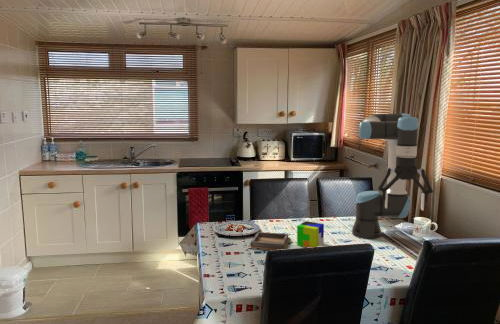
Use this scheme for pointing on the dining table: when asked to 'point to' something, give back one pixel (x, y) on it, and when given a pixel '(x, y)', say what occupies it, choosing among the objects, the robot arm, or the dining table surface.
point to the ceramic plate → (239, 229)
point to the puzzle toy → (310, 234)
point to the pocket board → (270, 241)
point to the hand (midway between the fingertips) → (403, 208)
